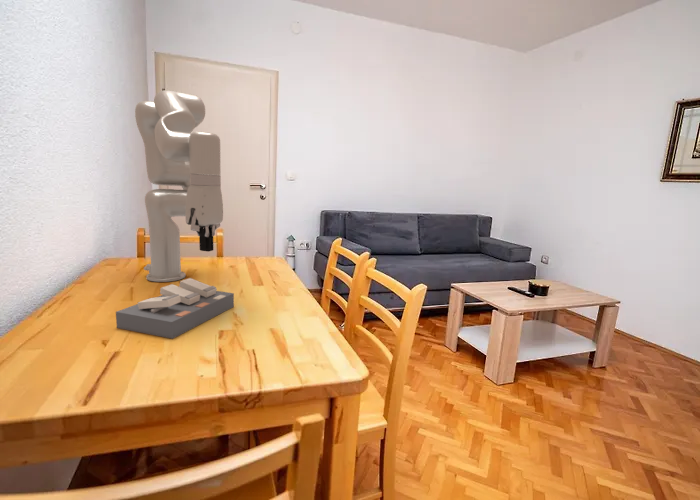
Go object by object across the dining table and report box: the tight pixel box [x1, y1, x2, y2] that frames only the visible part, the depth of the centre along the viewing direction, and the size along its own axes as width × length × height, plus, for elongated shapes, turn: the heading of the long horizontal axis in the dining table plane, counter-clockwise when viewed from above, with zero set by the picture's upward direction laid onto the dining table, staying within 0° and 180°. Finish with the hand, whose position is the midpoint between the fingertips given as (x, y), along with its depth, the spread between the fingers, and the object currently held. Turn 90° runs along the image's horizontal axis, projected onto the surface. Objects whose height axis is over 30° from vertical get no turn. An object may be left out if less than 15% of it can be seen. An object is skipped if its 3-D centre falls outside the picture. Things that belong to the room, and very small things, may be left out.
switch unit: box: [115, 288, 235, 340], centre depth 96 cm, size 16×24×5 cm, turn 164°
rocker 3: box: [178, 277, 218, 298], centre depth 102 cm, size 9×4×2 cm, turn 74°
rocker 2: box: [159, 283, 200, 305], centre depth 96 cm, size 9×4×2 cm, turn 74°
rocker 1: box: [137, 294, 181, 309], centre depth 89 cm, size 9×4×2 cm, turn 74°
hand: (206, 250), depth 99 cm, fingers closed
